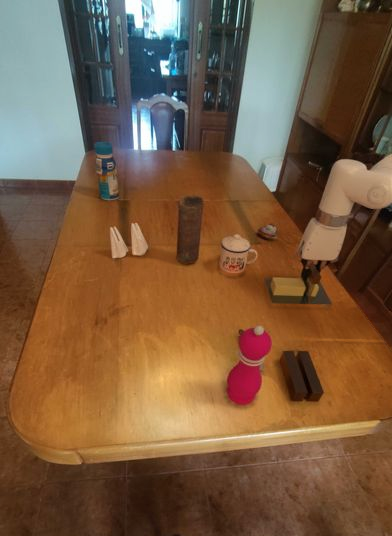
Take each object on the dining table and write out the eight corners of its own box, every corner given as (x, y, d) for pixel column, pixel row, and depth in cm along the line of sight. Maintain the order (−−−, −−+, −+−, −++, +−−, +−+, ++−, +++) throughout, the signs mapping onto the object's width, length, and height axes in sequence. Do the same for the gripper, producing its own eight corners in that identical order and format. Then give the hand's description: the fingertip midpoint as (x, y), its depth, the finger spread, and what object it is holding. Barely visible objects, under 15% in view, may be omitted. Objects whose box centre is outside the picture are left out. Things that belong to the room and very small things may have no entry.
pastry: (281, 237, 122) (284, 225, 118) (268, 243, 118) (271, 230, 115) (265, 229, 126) (268, 217, 122) (252, 234, 122) (255, 221, 119)
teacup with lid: (218, 275, 101) (223, 241, 93) (217, 260, 107) (221, 227, 99) (255, 277, 102) (263, 244, 93) (252, 262, 108) (259, 229, 99)
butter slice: (311, 287, 98) (314, 278, 96) (315, 296, 95) (319, 287, 92) (303, 287, 98) (306, 278, 95) (307, 296, 94) (310, 287, 92)
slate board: (318, 284, 102) (320, 280, 101) (330, 307, 93) (332, 304, 92) (263, 282, 100) (264, 278, 99) (271, 306, 92) (272, 302, 91)
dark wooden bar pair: (303, 360, 78) (308, 351, 75) (318, 401, 70) (324, 392, 67) (279, 360, 77) (283, 350, 75) (291, 401, 69) (296, 392, 67)
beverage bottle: (99, 193, 139) (91, 140, 125) (118, 193, 141) (113, 140, 127) (100, 201, 134) (92, 147, 119) (120, 200, 136) (115, 147, 121)
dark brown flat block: (302, 281, 99) (311, 257, 93) (311, 301, 92) (321, 276, 86) (296, 281, 99) (304, 257, 93) (304, 301, 92) (314, 276, 86)
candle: (202, 263, 105) (208, 202, 91) (183, 268, 102) (186, 206, 88) (190, 252, 110) (194, 192, 95) (172, 257, 107) (173, 196, 92)
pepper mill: (217, 390, 70) (230, 323, 55) (240, 375, 73) (258, 308, 59) (241, 413, 66) (261, 347, 52) (263, 395, 70) (288, 329, 55)
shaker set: (148, 251, 108) (146, 219, 100) (149, 258, 106) (147, 225, 98) (112, 252, 107) (108, 220, 99) (112, 258, 104) (107, 226, 96)
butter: (298, 287, 98) (302, 278, 95) (302, 296, 94) (306, 287, 92) (270, 286, 97) (272, 277, 95) (273, 295, 94) (275, 286, 91)
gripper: (356, 212, 83) (330, 272, 96) (296, 209, 81) (278, 271, 95) (368, 225, 77) (338, 287, 91) (304, 222, 76) (284, 285, 90)
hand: (308, 278), depth 93 cm, fingers closed on dark brown flat block, 2 cm apart
